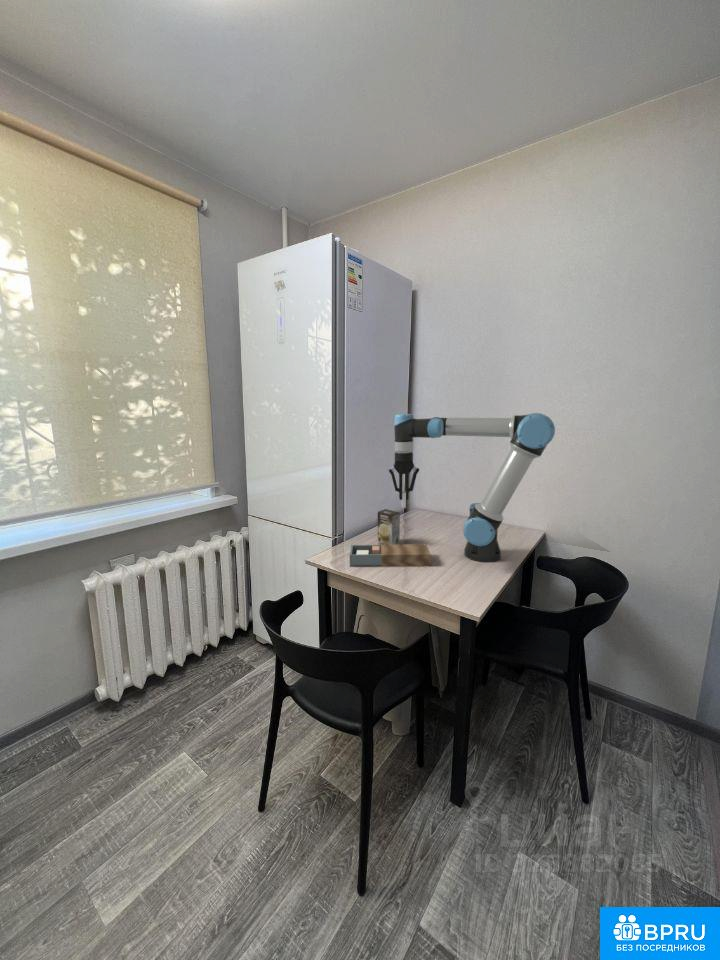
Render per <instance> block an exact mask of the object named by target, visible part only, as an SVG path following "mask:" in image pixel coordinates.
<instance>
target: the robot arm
mask: <svg viewBox="0 0 720 960" xmlns="http://www.w3.org/2000/svg"><path fill="white" fill-rule="evenodd" d="M393 426H394V427H393V428H394V451H395V452H394V464H393V466H392V467H389V468H388V472H389V473H390V475H391V479H392V482H393V487H394V490H395V492H398V496H399V497H398V498H399V500H400V501H401V508H402V509H406V508H407V502H406V501H408V500H409V493H410V492H412V491H413V490H414V487H415V482H416V478H417V475H418V473H419V472H420V468H419V467H416V466H415V463H414V453H413V451H414V438H425V439H427V438H429V439H430V438H431V439H437V438H441V437H442V436H446V437H447V436H450V437H451V436H452V437H453V436H454V437H455V436H458V437H459V436H460V437H488V438H510V439H511V440H510V442H509V444H510V449H509V452H508V454H507V455H506V457H505V459H504V461H503V462H502V464H501V466H500V468H499V469H498V471H497V473H496V476H495V478H494V479H493V480H492V483H491V484H490V486H489V488H488V490H487V492H486V493H485V495H484V497H483V499H482V501H481V502H473V503H471V504H470V505H469V509H468V510H469V515H468V517H467V518H466V521H465V522H464V524H463V526H462V527H463V528H462V529H463V530H462V532H463V535H464V538H465V540H466V541H467V542H466V545H465V546H464V552H463V553H464V554H463V555H464V556H465V557H466V558H468V559H469V560H473V561H476V562H481V563H484V562H486V563H492V562H497V561H499V560H500V559H501V557H502V551H501V547H500V544H499V541H498V530H499V528H500V526H501V525H502V522H503V521H504V517H503V512H504V511H505V509H506V508H507V505H508V504H509V502H510V500H511V498H512V497H513V495H514V494H515V492H516V490H517V488H518V487H519V485H520V483H521V481H522V480H523V478H524V476H525V475H526V473H527V471H528V470H529V468H530V466H531V464H532V463H533V461H534V459H537V458H541V456H542V455H543V453H544V451H545V449H546V447H547V446H548V445H549V444H550V443H551V442H552V441H553V438H554V436H555V433H556V427H555V423H554V421H553V420H552V419H551V418H550V417H549V416H547V415H546V414H543V413H539V412H534V413H530V414H522V415H521V414H520V415H513V416H512V417H438V416H435V417H430V418H414V415H413V414H412V413H398V414H396V415H395V416H394V425H393ZM412 471H413V473H412V477H411V481H410V480H409V479H410V478H409V477H410V473H411V472H412ZM395 472H397V474H398V484H397V480H396V476H395ZM403 475H404V482H405V483H404V489H405V490H404V491H403ZM409 481H410V483H409ZM409 485H410V486H409Z"/></svg>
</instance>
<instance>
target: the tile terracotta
mask: <svg viewBox="0 0 720 960" xmlns="http://www.w3.org/2000/svg"><path fill="white" fill-rule="evenodd" d="M372 554H380V553H379V546H372Z"/></svg>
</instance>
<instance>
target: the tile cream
mask: <svg viewBox="0 0 720 960" xmlns="http://www.w3.org/2000/svg"><path fill="white" fill-rule="evenodd" d="M357 554H369V550H357V553H356V555H357Z"/></svg>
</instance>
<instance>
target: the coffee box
mask: <svg viewBox="0 0 720 960" xmlns="http://www.w3.org/2000/svg"><path fill="white" fill-rule="evenodd" d="M400 513H401V512H399V511H396V510H391V509H386V508H385V509H382V510H379V511H377V545H401V543H400V542H401V541H400V536H401V535H400V534H401V533H400V532H401V531H400V530H401V529H400V527H401V526H400V525H401V523H400V522H401V517H400V516H401V515H400Z"/></svg>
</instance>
